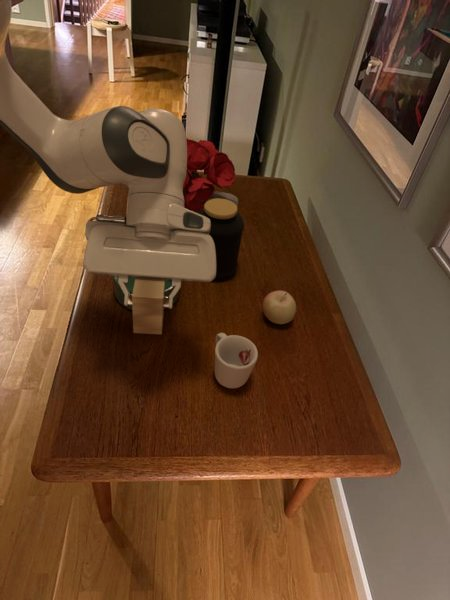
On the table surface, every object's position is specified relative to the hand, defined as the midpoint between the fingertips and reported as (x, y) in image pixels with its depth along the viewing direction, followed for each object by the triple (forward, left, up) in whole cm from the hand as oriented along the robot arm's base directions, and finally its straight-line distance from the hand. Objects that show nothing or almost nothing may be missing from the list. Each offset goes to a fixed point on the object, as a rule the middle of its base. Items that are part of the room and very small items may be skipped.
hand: (148, 307), depth 62 cm
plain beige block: (0, +1, -4) cm, 4 cm away
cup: (+15, -1, -20) cm, 25 cm away
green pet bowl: (+4, +25, -19) cm, 32 cm away
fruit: (+31, +11, -20) cm, 39 cm away
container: (+22, +31, -20) cm, 43 cm away
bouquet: (+23, +55, -20) cm, 63 cm away
